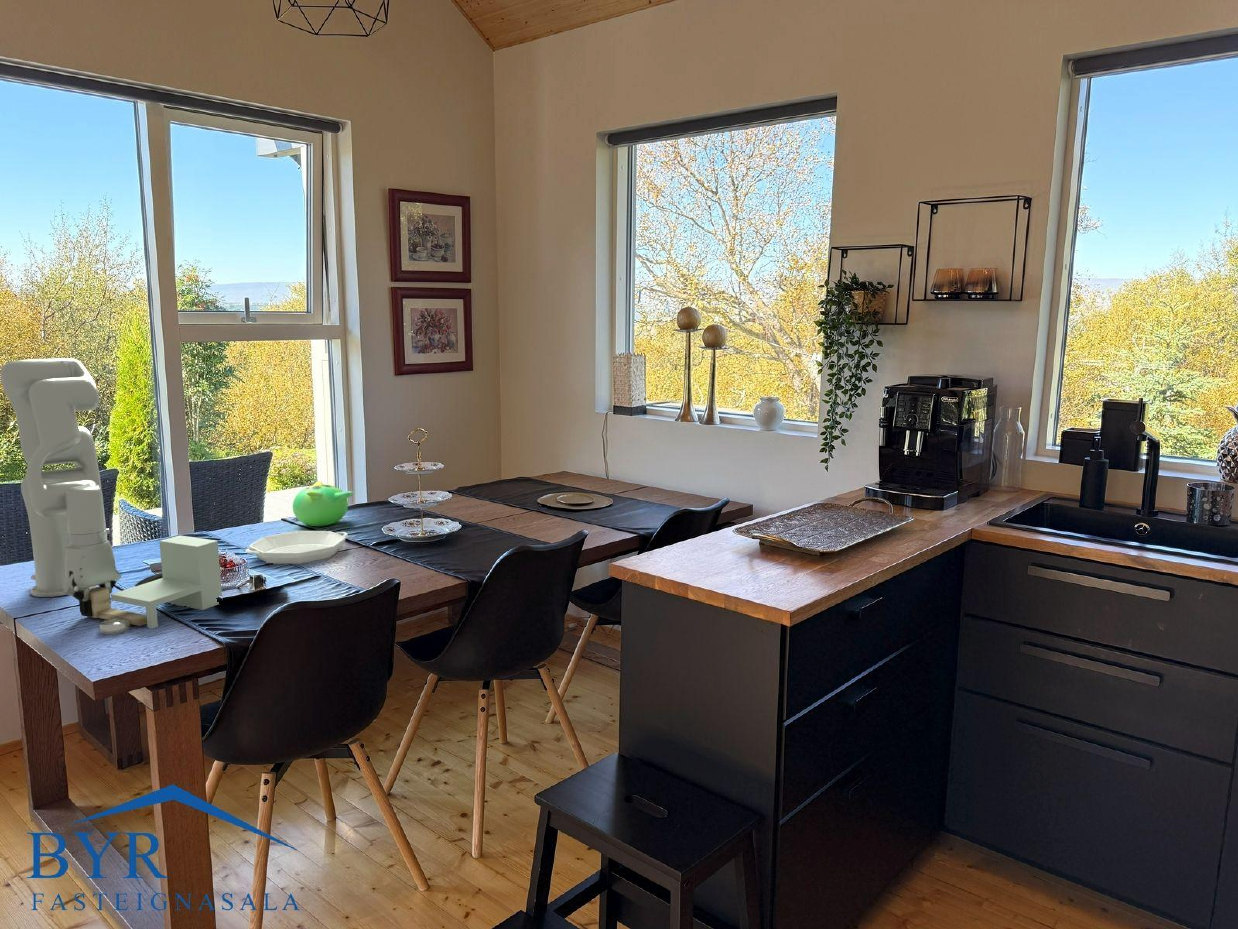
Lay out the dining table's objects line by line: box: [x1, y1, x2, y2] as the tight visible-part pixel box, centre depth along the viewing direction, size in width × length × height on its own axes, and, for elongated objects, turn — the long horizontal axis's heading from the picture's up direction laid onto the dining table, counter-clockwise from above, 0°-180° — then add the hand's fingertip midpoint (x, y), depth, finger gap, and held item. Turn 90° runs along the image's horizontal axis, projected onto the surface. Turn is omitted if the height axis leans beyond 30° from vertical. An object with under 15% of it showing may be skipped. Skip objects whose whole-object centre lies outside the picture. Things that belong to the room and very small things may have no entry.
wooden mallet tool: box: [82, 585, 147, 627], centre depth 207 cm, size 19×4×6 cm, turn 67°
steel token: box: [98, 618, 131, 636], centre depth 201 cm, size 6×6×2 cm
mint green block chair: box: [134, 572, 163, 587], centre depth 242 cm, size 8×4×25 cm
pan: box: [244, 530, 349, 565], centre depth 264 cm, size 31×26×4 cm
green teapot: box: [292, 480, 355, 527], centre depth 298 cm, size 18×17×15 cm
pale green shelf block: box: [110, 535, 223, 630], centre depth 213 cm, size 13×20×16 cm, turn 156°
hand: (96, 611), depth 210 cm, fingers closed on wooden mallet tool, 4 cm apart
